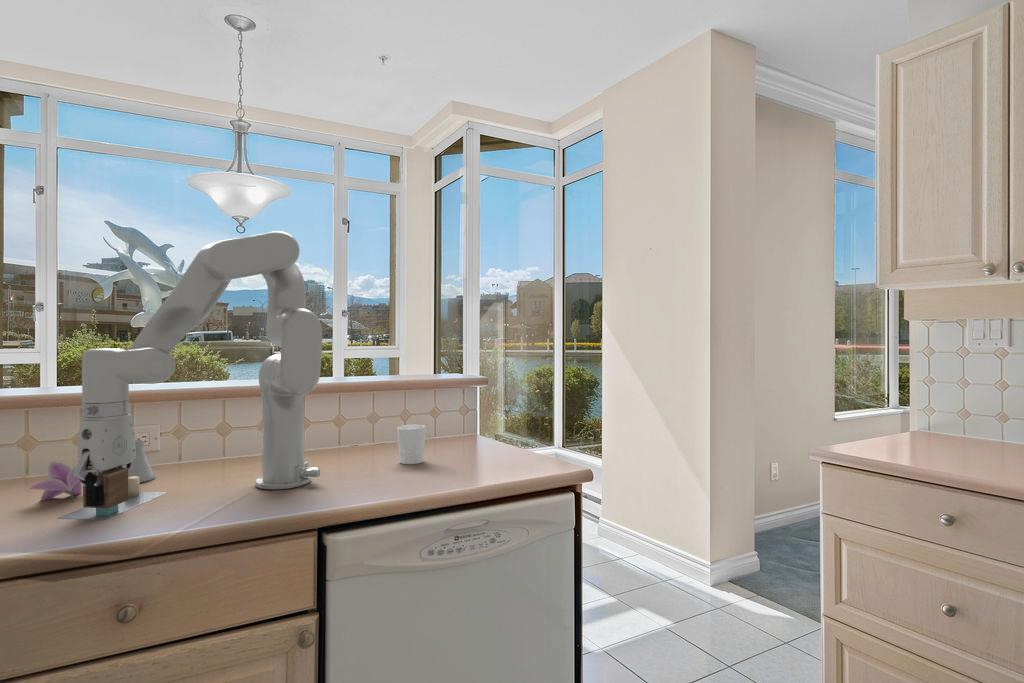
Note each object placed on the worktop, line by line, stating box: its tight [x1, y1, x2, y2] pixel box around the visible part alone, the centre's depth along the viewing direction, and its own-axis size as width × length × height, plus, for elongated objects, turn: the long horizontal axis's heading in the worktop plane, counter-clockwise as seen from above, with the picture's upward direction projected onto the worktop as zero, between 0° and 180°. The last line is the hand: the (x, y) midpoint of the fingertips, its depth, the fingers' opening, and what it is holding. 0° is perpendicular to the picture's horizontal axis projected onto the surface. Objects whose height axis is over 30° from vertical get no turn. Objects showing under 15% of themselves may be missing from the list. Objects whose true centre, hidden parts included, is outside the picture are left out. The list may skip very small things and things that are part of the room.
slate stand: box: [56, 476, 169, 521], centre depth 118 cm, size 10×18×5 cm, turn 177°
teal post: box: [96, 505, 118, 515], centre depth 112 cm, size 3×3×6 cm
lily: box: [29, 460, 83, 503], centre depth 121 cm, size 12×12×10 cm
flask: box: [128, 438, 156, 484], centre depth 139 cm, size 7×7×10 cm
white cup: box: [397, 424, 426, 465], centre depth 160 cm, size 8×8×10 cm
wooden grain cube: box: [82, 468, 128, 508], centre depth 112 cm, size 5×5×7 cm
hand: (106, 500), depth 112 cm, fingers closed on wooden grain cube, 5 cm apart
